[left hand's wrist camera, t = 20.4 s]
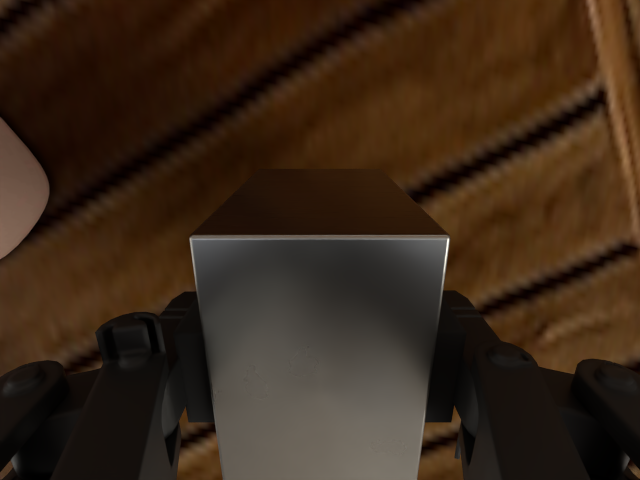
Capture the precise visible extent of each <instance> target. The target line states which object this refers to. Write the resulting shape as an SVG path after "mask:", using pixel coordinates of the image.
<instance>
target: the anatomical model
mask: <svg viewBox="0 0 640 480" xmlns="http://www.w3.org/2000/svg"><path fill="white" fill-rule="evenodd" d="M48 197H49V182H48V179H47V176H46V174H45V172H44V170H43V168H42V167H41V165H40V163H39V162H38V161H37V159H36V158H35V157H34V155H33V154H32V153H31V151H30V150H29V149H28V148H27V146H26V145H25V144H24V143H23V142H22V141H21V140H20V139H19V137H18V136H17V135H16V134H15V133H14V132H13V131H12V129H11V128H10V127H9V126H8V125H7V124H6V123H5V122H4V120H3V119H2V118H1V117H0V259H1V258H3V257H4V256H6V255H7V254H8V253H10V252H11V251H12V250H13V249H14V248H15V247H16V246H17V245H18V244H19V243H20V242H21V241H22V240H23V239H24V238H25V237H26V235H27V234H28V233H29V232H30V230H31V229H32V228H33V226H34V225H35V224H36V222H37V221H38V219H39V218H40V216H41V214H42V213H43V211H44V209H45V207H46V204H47V202H48Z"/></svg>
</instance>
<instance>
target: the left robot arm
mask: <svg viewBox="0 0 640 480" xmlns="http://www.w3.org/2000/svg"><path fill="white" fill-rule="evenodd" d="M95 334H96V337H97V341H98V345H99V349H100V352H101V356H102V360H103V365H102V367H101V368H100V369H96V370H92V371H87V372H82V373H78V374H73V375H68V376H66V375H65V372H64V368H63V366H62V365H61V364H60V363H58V362H57V361H49V360H46V361H38V362H33V363H28V364H25V365H22V366H20V367H18V368H16V369H14V370H12V371H10V372H8V373H6V374H4V375H3V376H1V377H0V472H1V471H2V469H3V468H4V467H5V466H6V465H7V464H8V462H9V461H10V460H11V462H12V464H13V468H12V470H11V471H10V472H9V473H8V474H7V475H6V476H5V477H4V478H3V479H2V480H176V477H177V469H178V460H179V452H180V443H181V430H180V424H179V420H180V417H181V415H182V413H183V411H184V409H185V406H186V410H187V416H188V422H215V418H214V411H213V404H212V397H211V390H210V383H209V375H208V368H207V361H206V354H205V347H204V340H203V333H202V326H201V318H200V311H199V304H198V297H197V292H184V293H182V294H180V295H179V296H177V297H176V298H174V299H173V300H172V301H171V302H170V303H169V305H168V306H167V307H166V308H165V311H163V312H162V314H161V315H160V316H159V317H158V316H157V315H155V314H153V313H149V312H134V313H129V314H125V315H121V316H119V317H116V318H114V319H111V320H109V321H108V322H106V323H105V324H103V325H101V327H100V328H99V329H98V330H97V331H96V332H95ZM454 405H455V407H456V410H457V412H458V414H459V416H460V418H461V424H460V430H459V435H458V440H457V446H456V451H455V458H456V459H459V458H460V453H461V459H462V468H463V476H464V480H640V479H639V478H638V477H636V476H635V475H634V474H633V473H632V471H631V470H630V469H629V468H628V467H627V464H628V461H629V459H631V460H632V461H633V462H634V464H635V465H636V466H637V467H638V468H639V469H640V375H638V374H637V373H635V372H634V371H632V370H630V369H628V368H626V367H624V366H622V365H620V364H617V363H612V362H610V361H606V360H599V359H586V360H582V361H581V362H580V363H578V364H577V367H576V371H575V374H570V373H565V372H560V371H555V370H550V369H546V368H542V367H538V364H537V362H536V361H535V360H534V358H533V357H532V356H531V355H530V354H529V353H527V352H526V351H525V350H523V349H522V348H520V347H517V346H515V345H513V344H511V343H507V342H503V341H501V340H500V339H499V338H498V337H497V335H496V334H495V333H494V331H493V330H492V329H491V328H490V326H489V325H488V324H487V323H486V321H485V320H484V319H483V318H481V315H480V314H479V312H478V311H477V310H475V307H474V306H473V305H472V303H471V302H470V301H469V300H468V298H466V297H464V296H463V295H461V294H460V293H458V292H457V291H443V294H442V302H441V309H440V316H439V324H438V331H437V338H436V345H435V353H434V360H433V367H432V374H431V382H430V389H429V396H428V403H427V411H426V418H425V422H451V420H452V415H453V409H454Z"/></svg>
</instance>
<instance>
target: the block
mask: <svg viewBox="0 0 640 480" xmlns="http://www.w3.org/2000/svg"><path fill="white" fill-rule="evenodd" d="M189 240H190V247H191V254H192V261H193V269H194V276H195V283H196V290H197V297H198V304H199V311H200V318H201V326H202V333H203V340H204V347H205V354H206V361H207V368H208V375H209V383H210V390H211V397H212V404H213V411H214V418H215V425H216V432H217V440H218V447H219V454H220V461H221V468H222V475H223V480H417V476H418V469H419V461H420V454H421V447H422V440H423V432H424V425H425V418H426V411H427V403H428V396H429V389H430V382H431V374H432V367H433V360H434V353H435V345H436V338H437V331H438V324H439V316H440V309H441V302H442V294H443V287H444V280H445V273H446V265H447V258H448V251H449V244H450V236H449V234H448V233H447V232H446V231H445V230H444V229H442V228H441V227H440V226H439V225H438V224H437V223H436V222H435V221H434V220H433V219H432V218H431V217H430V216H429V215H428V214H427V213H426V212H425V211H424V210H423V209H422V208H421V207H420V206H419V205H417V204H416V203H415V202H414V201H413V200H412V199H411V198H410V197H409V196H408V195H407V194H406V193H405V192H404V191H403V190H402V189H401V188H400V187H399V186H398V185H397V184H396V183H395V182H393V181H392V180H391V179H390V178H389V177H388V176H387V175H386V174H385V173H384V172H383V171H382V170H381V169H259V170H258V171H257V172H256V173H255V174H254V175H253V176H251V177H250V178H249V179H248V180H247V181H246V182H245V183H244V184H243V185H242V186H241V187H240V188H239V189H238V190H237V191H236V192H235V193H234V194H233V195H232V196H231V197H230V198H229V199H228V200H226V201H225V202H224V203H223V204H222V205H221V206H220V207H219V208H218V209H217V210H216V211H215V212H214V213H213V214H212V215H211V216H210V217H209V218H208V219H207V220H206V221H205V222H204V223H203V224H201V225H200V226H199V227H198V228H197V229H196V230H195V231H194V232H193V233H192V234H191V235H190V238H189Z"/></svg>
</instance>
